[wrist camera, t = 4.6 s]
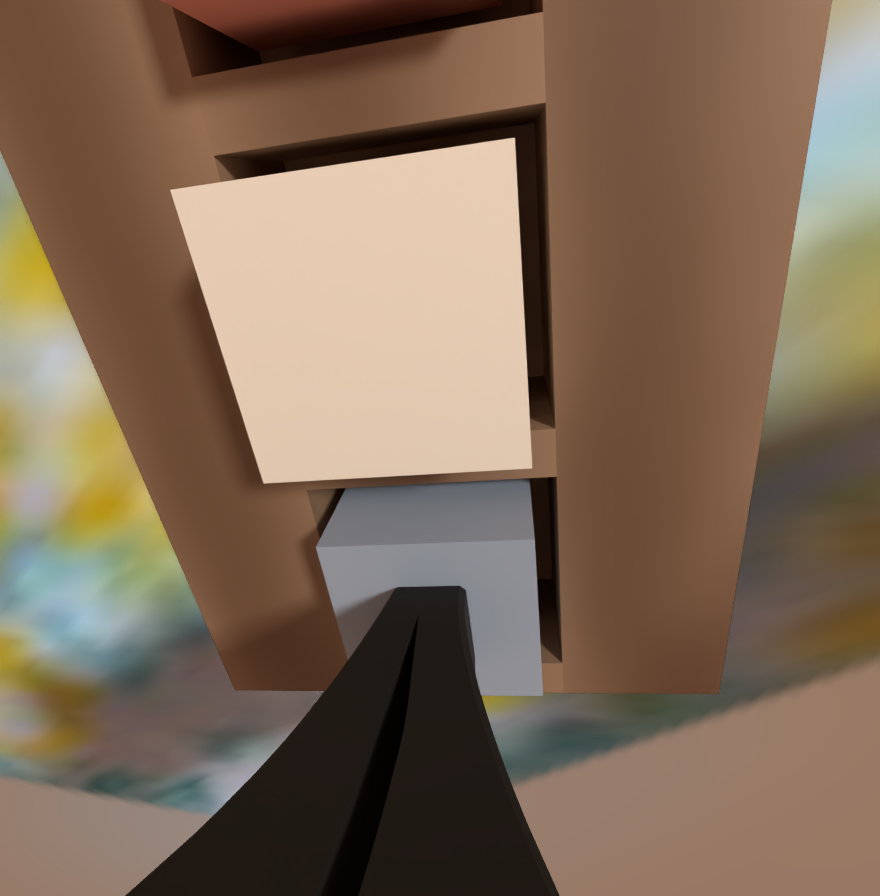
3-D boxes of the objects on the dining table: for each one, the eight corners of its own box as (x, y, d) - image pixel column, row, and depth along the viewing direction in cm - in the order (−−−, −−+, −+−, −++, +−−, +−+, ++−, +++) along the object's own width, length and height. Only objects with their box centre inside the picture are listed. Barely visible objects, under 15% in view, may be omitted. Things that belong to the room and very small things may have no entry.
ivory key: (510, 150, 8) (514, 138, 6) (525, 395, 10) (531, 468, 7) (266, 186, 9) (169, 189, 6) (320, 410, 10) (263, 483, 8)
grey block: (528, 462, 12) (534, 539, 9) (535, 600, 13) (543, 695, 11) (354, 472, 12) (315, 547, 10) (383, 602, 14) (357, 694, 11)
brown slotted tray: (783, -549, 7) (1022, -1168, 4) (674, 588, 15) (718, 693, 12) (-14, -291, 9) (-308, -559, 5) (284, 596, 17) (234, 689, 14)
